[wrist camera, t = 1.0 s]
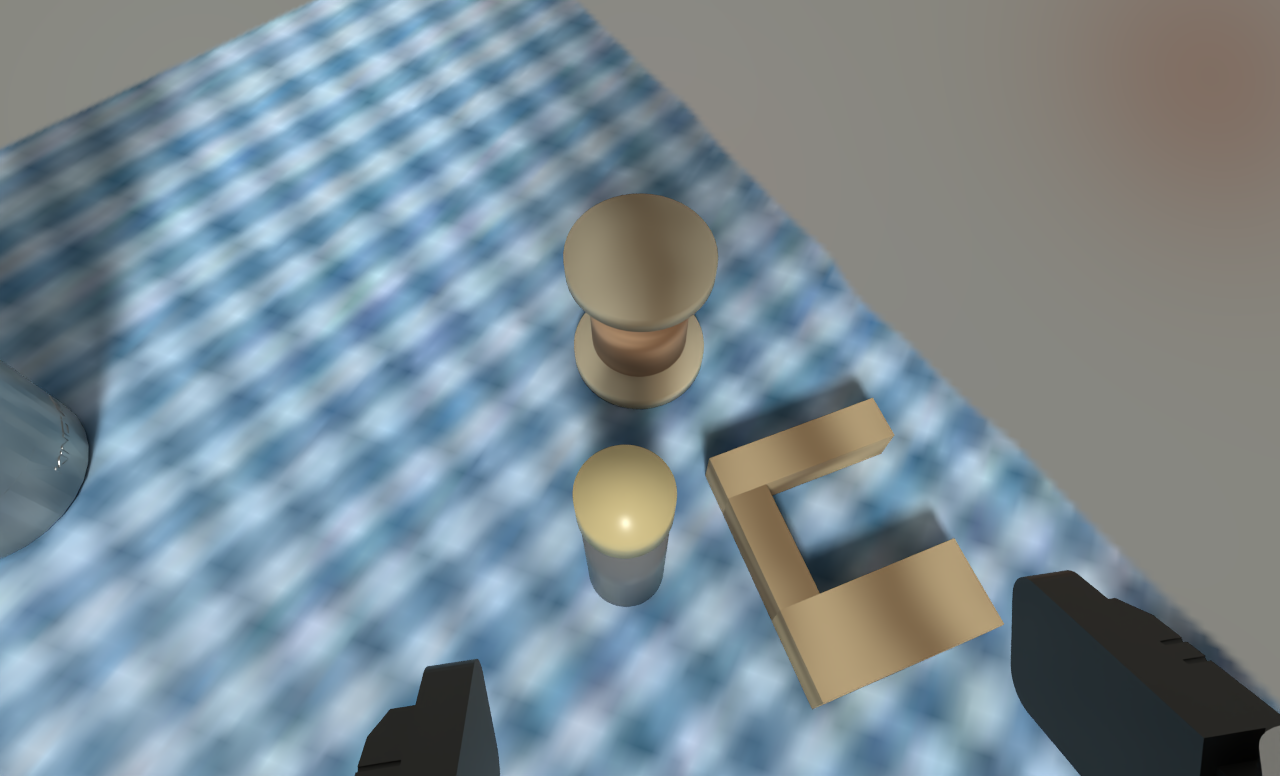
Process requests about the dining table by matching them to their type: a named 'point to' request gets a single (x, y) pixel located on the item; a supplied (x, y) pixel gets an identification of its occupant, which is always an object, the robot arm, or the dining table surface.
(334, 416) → the dining table surface
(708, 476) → the tan c-shaped clamp
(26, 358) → the dining table surface
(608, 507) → the grey cylinder tan cap
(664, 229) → the bobbin
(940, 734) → the dining table surface
